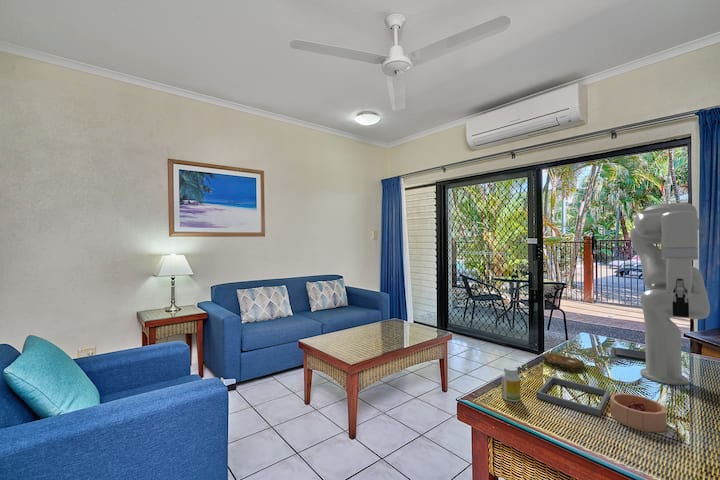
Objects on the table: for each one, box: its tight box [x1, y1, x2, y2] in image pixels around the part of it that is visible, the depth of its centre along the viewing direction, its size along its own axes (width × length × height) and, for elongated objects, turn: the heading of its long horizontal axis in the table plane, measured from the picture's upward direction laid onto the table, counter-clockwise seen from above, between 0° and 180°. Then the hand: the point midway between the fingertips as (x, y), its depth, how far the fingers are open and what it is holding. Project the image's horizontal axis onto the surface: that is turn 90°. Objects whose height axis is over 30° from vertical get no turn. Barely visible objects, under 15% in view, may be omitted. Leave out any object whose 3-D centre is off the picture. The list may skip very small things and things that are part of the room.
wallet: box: [609, 347, 646, 363], centre depth 140 cm, size 20×2×15 cm
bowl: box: [609, 392, 667, 434], centre depth 91 cm, size 12×12×5 cm
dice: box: [628, 401, 646, 412], centre depth 91 cm, size 4×4×4 cm
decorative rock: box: [540, 352, 585, 372], centre depth 131 cm, size 11×4×15 cm
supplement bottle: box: [501, 365, 521, 403], centre depth 105 cm, size 5×5×10 cm
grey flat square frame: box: [535, 376, 611, 417], centre depth 105 cm, size 17×17×2 cm
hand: (680, 313), depth 95 cm, fingers open, 9 cm apart
